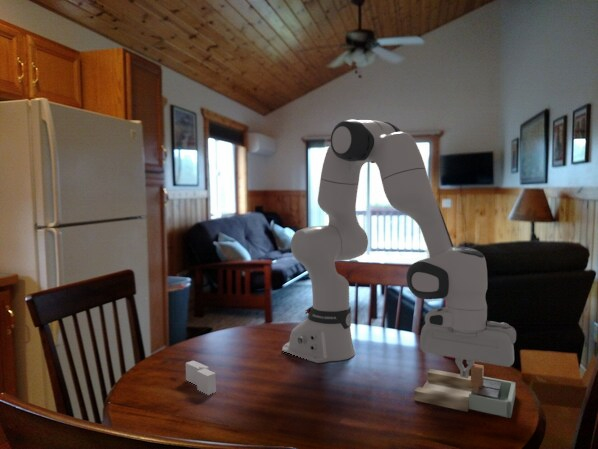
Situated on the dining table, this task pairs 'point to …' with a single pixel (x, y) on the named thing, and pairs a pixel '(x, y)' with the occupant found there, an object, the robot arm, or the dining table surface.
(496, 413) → the tray
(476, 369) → the block
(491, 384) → the dark grey block
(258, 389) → the dining table surface
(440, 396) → the slot board
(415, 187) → the robot arm
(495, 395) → the chip
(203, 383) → the white stepped block
